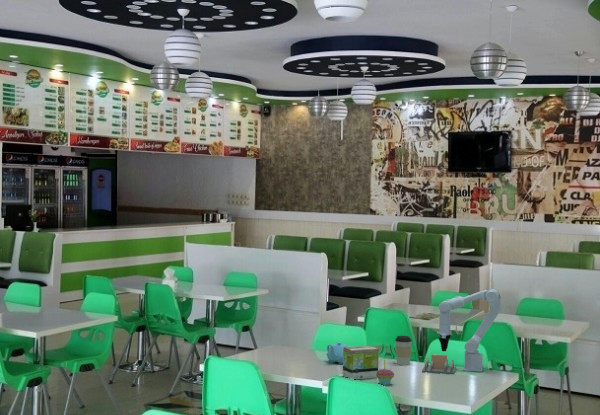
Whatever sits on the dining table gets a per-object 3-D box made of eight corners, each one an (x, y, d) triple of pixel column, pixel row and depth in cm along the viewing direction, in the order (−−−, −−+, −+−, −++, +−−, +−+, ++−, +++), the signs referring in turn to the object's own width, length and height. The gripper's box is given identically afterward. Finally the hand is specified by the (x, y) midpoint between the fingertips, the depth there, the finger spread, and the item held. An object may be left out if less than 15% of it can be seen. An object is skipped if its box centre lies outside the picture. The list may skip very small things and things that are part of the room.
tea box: (352, 380, 376) (353, 350, 376) (342, 376, 385) (342, 346, 385) (378, 378, 383) (379, 348, 383) (367, 373, 392) (368, 344, 392)
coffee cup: (411, 362, 422) (411, 334, 422) (412, 365, 413) (412, 337, 413) (394, 361, 422) (394, 334, 422) (394, 365, 413) (395, 337, 413)
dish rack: (455, 368, 406) (455, 359, 406) (453, 374, 393) (454, 364, 393) (424, 366, 411) (425, 357, 411) (422, 372, 397) (422, 362, 397)
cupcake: (374, 382, 374) (374, 357, 374) (392, 381, 374) (392, 357, 374) (377, 386, 365) (378, 360, 365) (395, 386, 366) (396, 360, 366)
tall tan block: (447, 368, 401) (447, 355, 401) (446, 369, 400) (447, 355, 400) (431, 367, 404) (431, 354, 403) (431, 368, 402) (431, 354, 402)
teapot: (348, 361, 426) (348, 340, 427) (353, 365, 412) (353, 343, 413) (325, 361, 424) (325, 340, 425) (330, 365, 410) (330, 344, 411)
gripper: (438, 321, 417) (438, 346, 417) (435, 325, 403) (435, 351, 403) (451, 322, 415) (451, 347, 415) (449, 326, 401) (449, 352, 401)
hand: (444, 349), depth 409 cm, fingers open, 7 cm apart
